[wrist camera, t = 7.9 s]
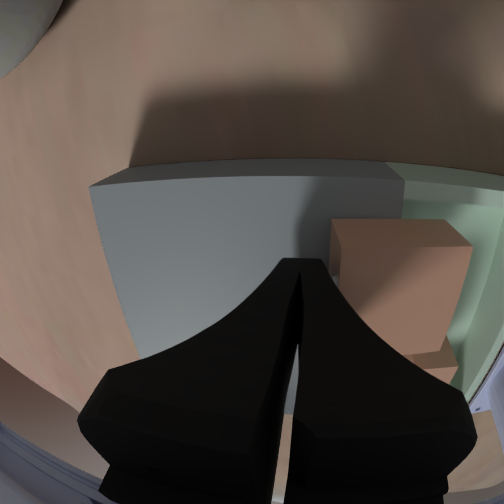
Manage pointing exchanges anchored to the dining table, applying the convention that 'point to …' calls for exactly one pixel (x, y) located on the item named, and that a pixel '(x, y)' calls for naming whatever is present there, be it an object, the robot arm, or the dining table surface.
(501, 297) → the tray
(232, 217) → the slate board
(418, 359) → the tile
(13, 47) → the teacup
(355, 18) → the dining table surface
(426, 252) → the tile
